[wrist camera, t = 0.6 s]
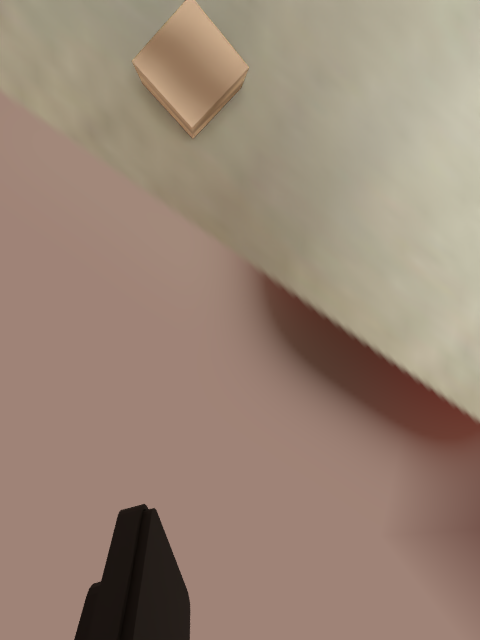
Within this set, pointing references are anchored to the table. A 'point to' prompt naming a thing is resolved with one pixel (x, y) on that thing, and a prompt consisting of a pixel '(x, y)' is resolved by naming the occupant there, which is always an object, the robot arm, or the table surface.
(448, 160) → the table surface
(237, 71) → the oak cube
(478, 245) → the table surface
